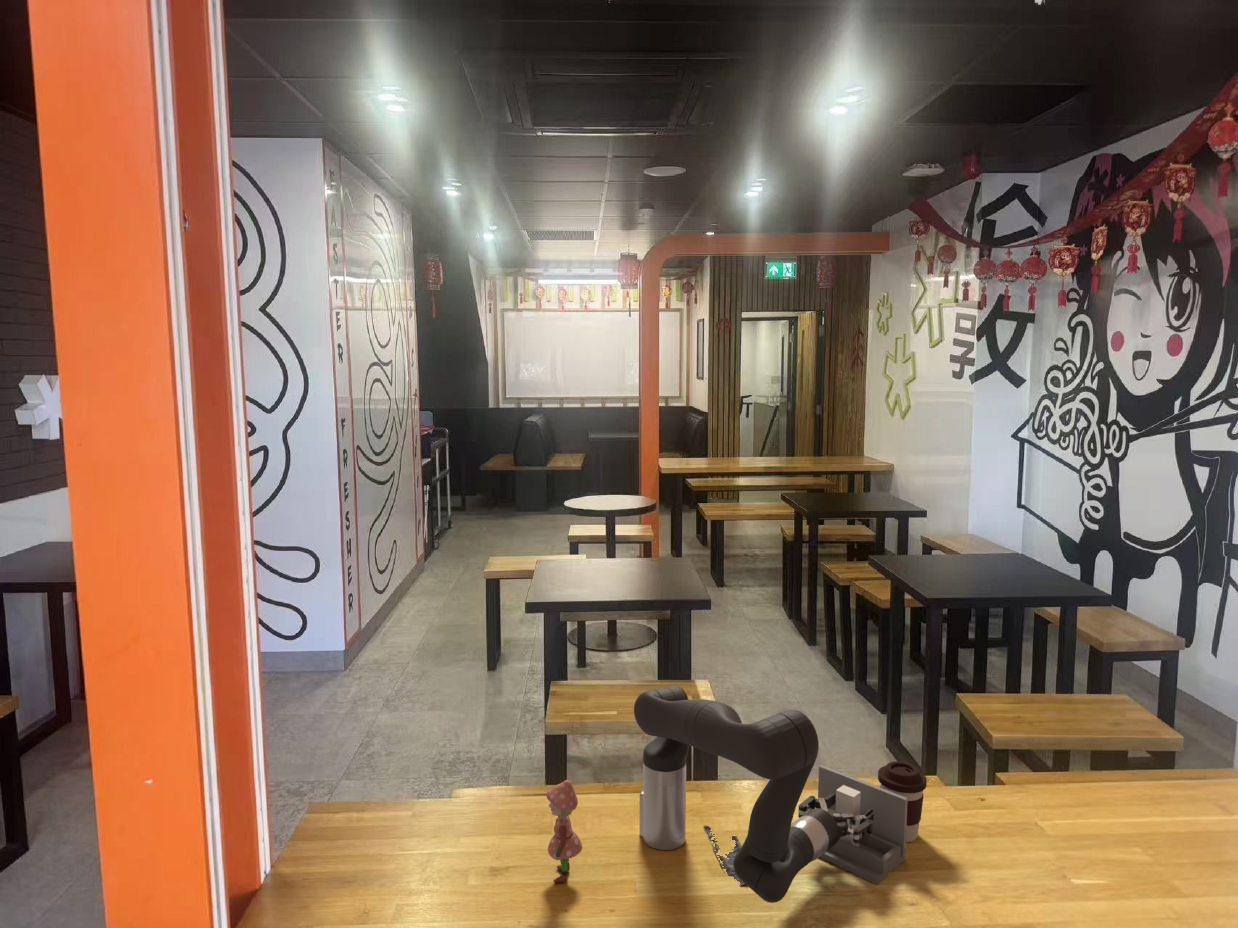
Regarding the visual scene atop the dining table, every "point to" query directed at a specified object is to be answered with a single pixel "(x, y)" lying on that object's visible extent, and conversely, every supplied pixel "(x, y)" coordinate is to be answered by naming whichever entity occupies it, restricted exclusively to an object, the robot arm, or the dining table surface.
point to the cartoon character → (563, 827)
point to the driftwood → (727, 862)
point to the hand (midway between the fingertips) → (852, 805)
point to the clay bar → (848, 806)
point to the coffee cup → (905, 791)
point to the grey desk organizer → (887, 835)
